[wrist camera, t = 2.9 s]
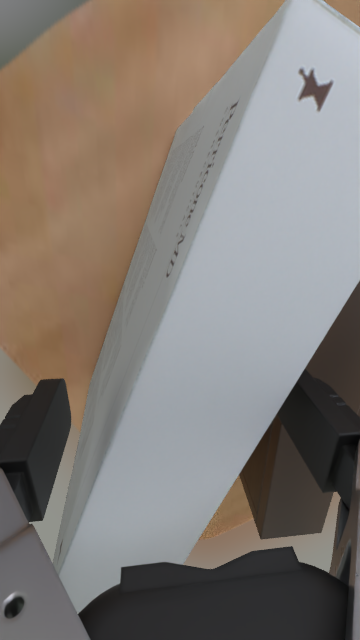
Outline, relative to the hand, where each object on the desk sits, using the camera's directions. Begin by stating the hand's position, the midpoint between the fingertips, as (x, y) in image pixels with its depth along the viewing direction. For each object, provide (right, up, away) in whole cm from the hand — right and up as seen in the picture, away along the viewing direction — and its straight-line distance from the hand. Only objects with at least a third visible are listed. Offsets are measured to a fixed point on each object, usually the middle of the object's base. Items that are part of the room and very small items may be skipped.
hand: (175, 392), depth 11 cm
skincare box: (-1, +6, +13) cm, 14 cm away
